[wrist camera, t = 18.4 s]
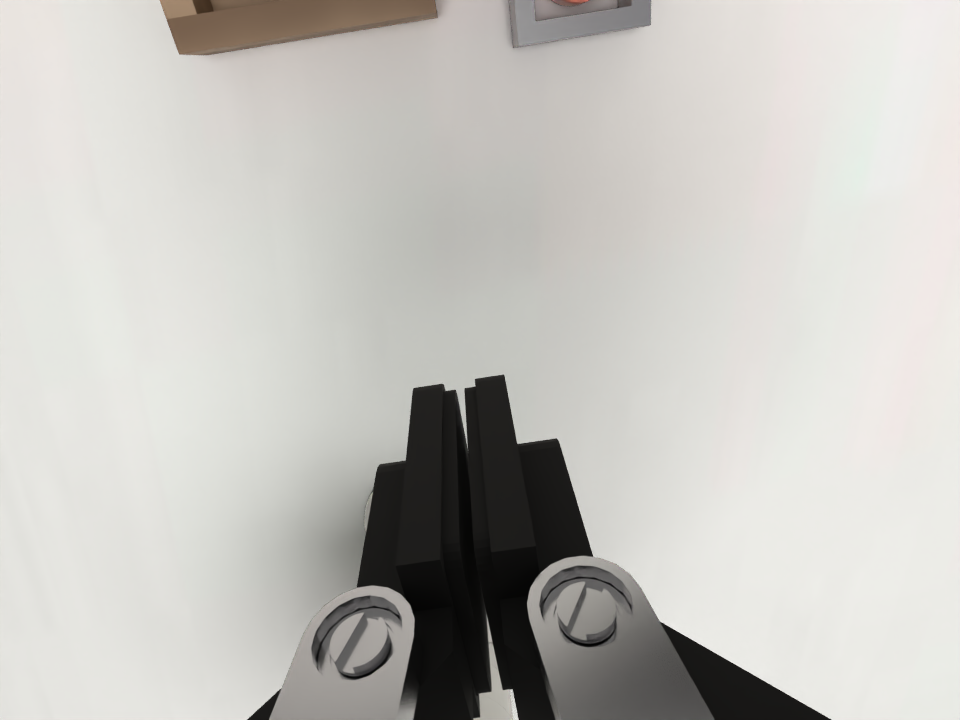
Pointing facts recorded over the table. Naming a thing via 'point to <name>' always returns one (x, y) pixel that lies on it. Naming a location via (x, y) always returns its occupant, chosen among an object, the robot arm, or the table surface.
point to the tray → (279, 20)
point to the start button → (569, 2)
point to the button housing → (575, 22)
